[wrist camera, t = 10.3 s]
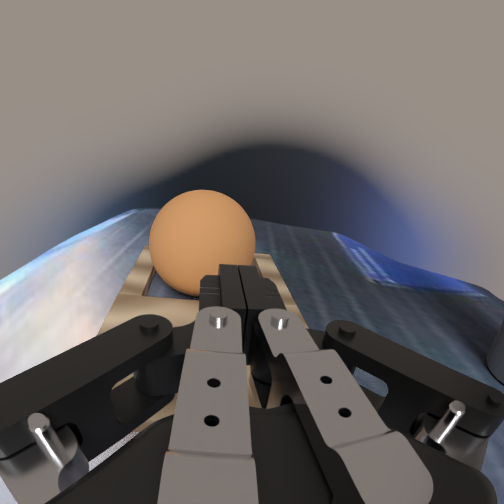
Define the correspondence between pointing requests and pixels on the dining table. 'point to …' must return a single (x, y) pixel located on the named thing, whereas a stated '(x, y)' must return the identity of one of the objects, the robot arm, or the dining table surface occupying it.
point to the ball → (199, 238)
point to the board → (176, 309)
